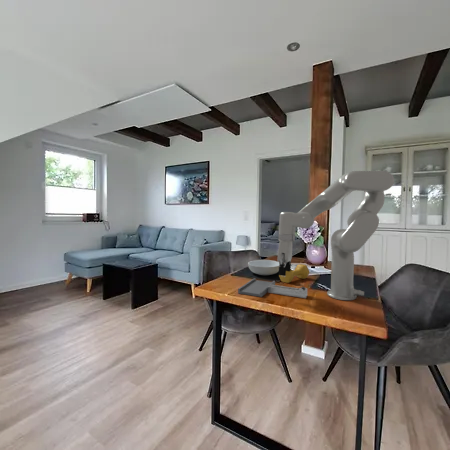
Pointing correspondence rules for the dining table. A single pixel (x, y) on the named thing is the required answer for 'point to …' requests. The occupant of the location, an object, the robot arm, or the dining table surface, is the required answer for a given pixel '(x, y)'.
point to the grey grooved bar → (288, 291)
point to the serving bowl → (264, 267)
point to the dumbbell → (295, 273)
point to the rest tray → (255, 288)
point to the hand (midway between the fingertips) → (284, 273)
